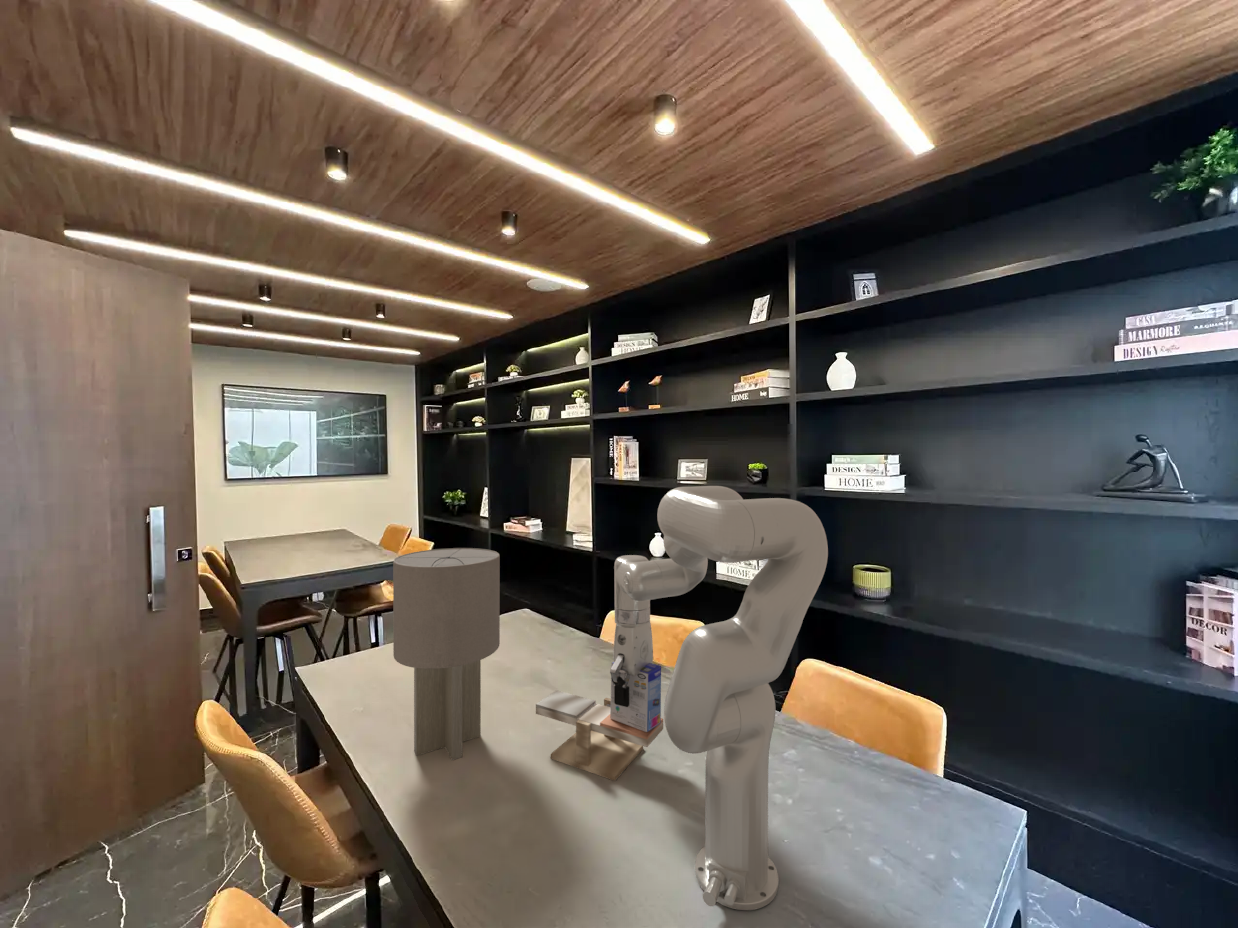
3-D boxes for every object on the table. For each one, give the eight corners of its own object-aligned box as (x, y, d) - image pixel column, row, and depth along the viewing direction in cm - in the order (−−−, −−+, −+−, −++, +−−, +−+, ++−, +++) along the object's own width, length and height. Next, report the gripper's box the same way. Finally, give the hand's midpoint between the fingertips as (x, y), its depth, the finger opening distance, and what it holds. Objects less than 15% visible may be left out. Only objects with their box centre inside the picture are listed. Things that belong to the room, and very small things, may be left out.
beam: (665, 726, 110) (665, 716, 110) (645, 749, 101) (645, 738, 101) (558, 697, 123) (558, 688, 123) (532, 715, 114) (532, 705, 114)
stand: (643, 748, 114) (643, 706, 114) (614, 780, 102) (614, 733, 102) (583, 730, 122) (583, 691, 121) (550, 758, 110) (550, 714, 110)
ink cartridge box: (662, 722, 107) (662, 654, 107) (648, 734, 103) (648, 662, 102) (624, 709, 113) (624, 644, 113) (609, 719, 108) (609, 651, 108)
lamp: (404, 788, 100) (404, 571, 100) (385, 735, 119) (385, 553, 119) (514, 751, 113) (514, 559, 112) (481, 709, 132) (481, 544, 132)
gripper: (629, 628, 98) (629, 717, 98) (664, 607, 113) (665, 683, 113) (596, 623, 102) (596, 708, 102) (635, 602, 117) (635, 677, 117)
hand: (632, 695), depth 107 cm, fingers open, 9 cm apart
